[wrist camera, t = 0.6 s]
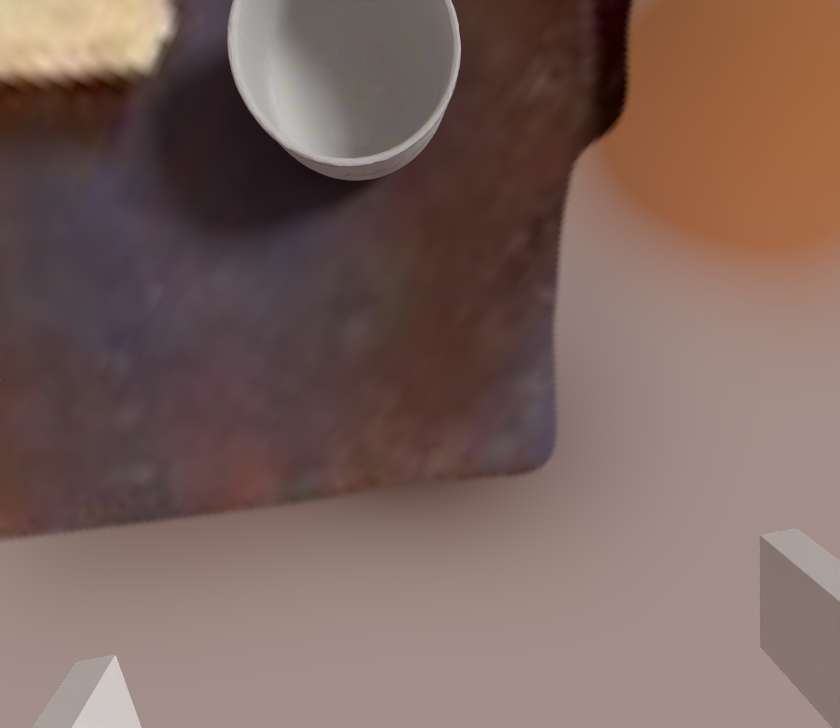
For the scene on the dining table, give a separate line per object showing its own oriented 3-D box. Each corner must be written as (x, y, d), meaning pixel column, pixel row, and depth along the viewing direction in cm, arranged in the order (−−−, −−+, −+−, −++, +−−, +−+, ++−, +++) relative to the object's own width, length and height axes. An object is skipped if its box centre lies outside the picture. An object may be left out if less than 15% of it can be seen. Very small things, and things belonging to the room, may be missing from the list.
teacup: (361, 229, 35) (359, 213, 27) (218, 103, 34) (173, 47, 26) (511, 52, 35) (553, -15, 27) (374, -85, 33) (376, -201, 25)
